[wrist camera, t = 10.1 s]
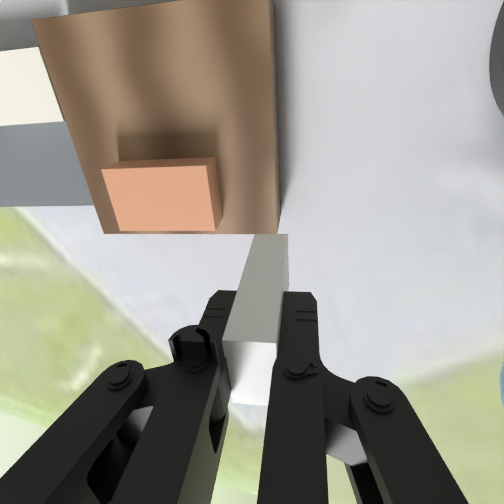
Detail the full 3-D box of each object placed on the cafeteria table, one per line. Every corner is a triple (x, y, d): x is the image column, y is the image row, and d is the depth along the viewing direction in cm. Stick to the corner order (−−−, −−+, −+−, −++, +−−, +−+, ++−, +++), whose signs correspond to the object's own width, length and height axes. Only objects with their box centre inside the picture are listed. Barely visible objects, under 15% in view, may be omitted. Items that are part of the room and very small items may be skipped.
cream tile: (61, 49, 25) (38, 46, 22) (83, 117, 27) (63, 121, 25) (-23, 59, 26) (-53, 57, 24) (4, 123, 28) (-20, 127, 26)
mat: (75, 65, 26) (70, 64, 25) (117, 202, 31) (113, 204, 31) (-64, 78, 28) (-71, 79, 27) (-1, 204, 34) (-5, 206, 33)
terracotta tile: (215, 157, 24) (205, 165, 21) (222, 217, 26) (215, 230, 24) (118, 161, 25) (101, 169, 23) (134, 218, 27) (120, 230, 25)
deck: (274, 2, 22) (268, -12, 18) (280, 215, 29) (277, 234, 26) (70, 27, 24) (31, 19, 21) (125, 216, 32) (103, 233, 29)
